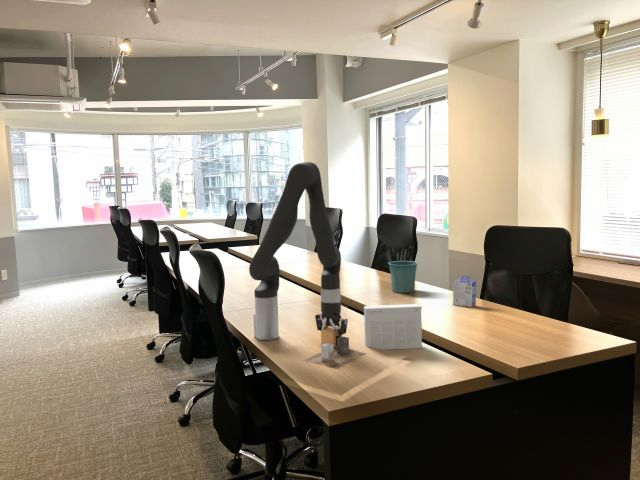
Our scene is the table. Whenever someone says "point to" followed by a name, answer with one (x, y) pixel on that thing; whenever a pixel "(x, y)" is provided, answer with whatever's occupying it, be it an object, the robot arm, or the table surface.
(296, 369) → the table surface
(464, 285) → the ink cartridge box
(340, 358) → the post board
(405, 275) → the flower pot
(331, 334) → the peach wooden cube
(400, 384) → the table surface
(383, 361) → the table surface
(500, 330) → the table surface
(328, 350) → the front post
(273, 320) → the robot arm
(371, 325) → the skincare box
